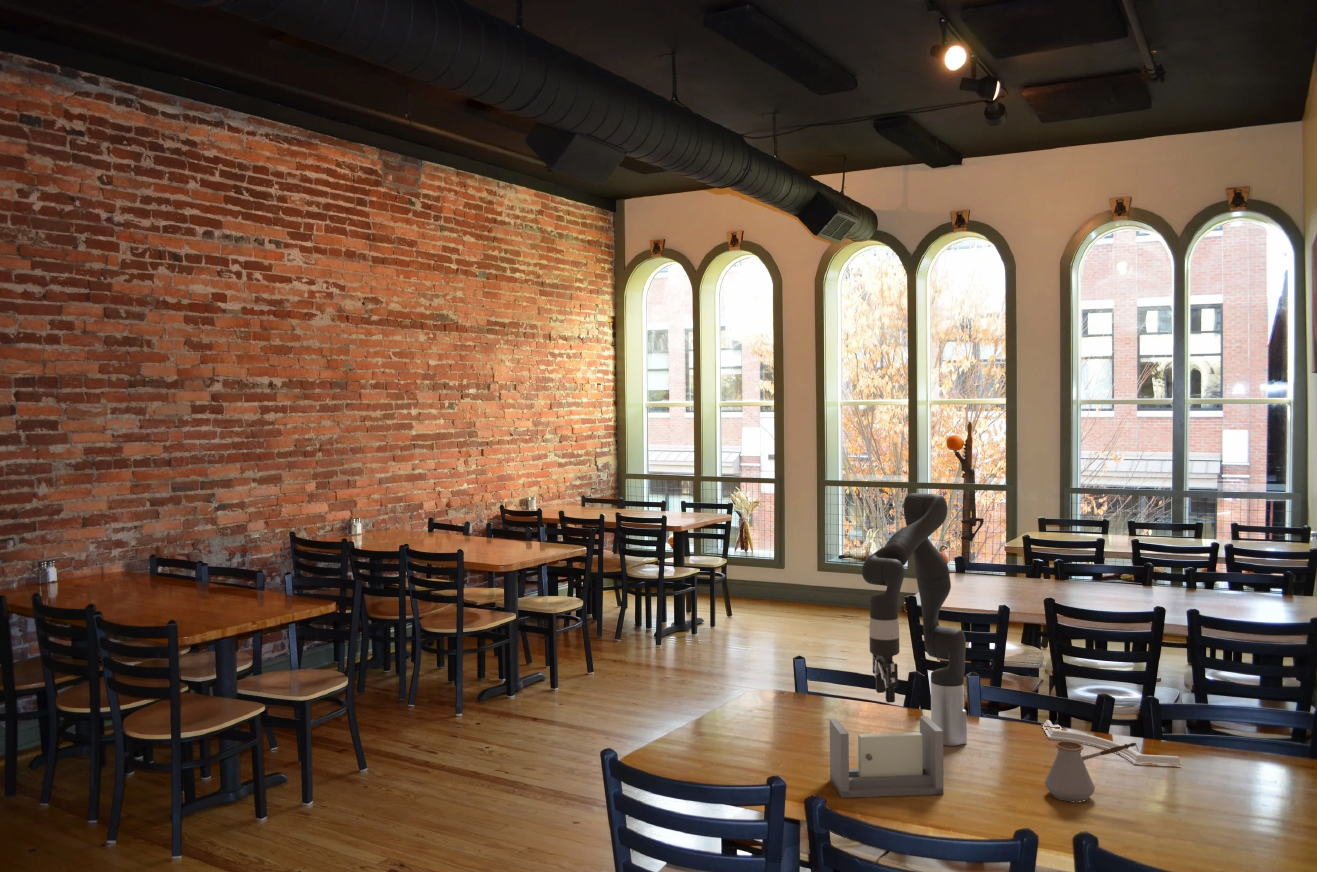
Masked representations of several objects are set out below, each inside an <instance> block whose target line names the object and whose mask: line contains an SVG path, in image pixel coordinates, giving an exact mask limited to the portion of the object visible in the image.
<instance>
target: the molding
mask: <svg viewBox="0 0 1317 872" xmlns="http://www.w3.org/2000/svg"><path fill="white" fill-rule="evenodd" d="M1042 725H1043V727H1041V729H1042V728H1043V729H1044V730H1043V729H1042V731H1043V732H1044V731H1045V732H1044V734H1045V733H1046V734H1045V736H1046V735H1047V736H1046V737H1047V739H1048V740H1054V741H1069V742H1075V743H1079V744H1081V743H1085V744H1084V745H1086V744H1090V745H1094V746H1096V747H1095V748H1098V749H1101V750H1104V749H1105V750H1107V749H1110V748H1113V747H1116V746H1123V745H1124V744H1120V743H1118V742H1116V741H1112V740H1108V739H1105V738H1102V737H1098V736H1095V735H1090V734H1085V733H1080V732H1073V731H1067V730H1063V731H1062V730H1061V729H1063V728H1062V727H1061V725H1059V724H1053V723H1052V721H1051V720H1049V719H1046V720H1045V722H1043V724H1042ZM1044 726H1050V727H1060V729H1055V728H1050V727H1044ZM1046 728H1047V729H1048V730H1045V729H1046ZM1090 745H1089V746H1090ZM1094 746H1093V747H1094ZM1116 753H1118V754H1121V755H1123V756H1125V757H1126V758H1128V759H1130V760H1131V761H1132V762H1136V763H1152V764H1164V763H1166V764H1169V763H1173V764H1180V758H1179V756H1177V755H1176V756H1175V755H1157V754H1142V753H1140V751H1138V750H1137V751H1136V750H1134V749H1132V748H1131V747H1129V748H1128V749H1126V748H1125V749H1123V750H1121V751H1118V752H1116ZM1180 765H1181V764H1180Z"/></svg>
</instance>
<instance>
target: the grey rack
mask: <svg viewBox="0 0 1317 872" xmlns="http://www.w3.org/2000/svg"><path fill="white" fill-rule="evenodd" d="M919 732H920V733H921V734H922V765H923V775H912V776H881V777H859V776H858V768H850V752H849V751H850V750H849V748H850V743H849V742H850V739H849V738H850V737H849V735H850V734H849V732H848V731H847V729H845V727H844V726H843V725H842V724H841V722H840V721H839V719H837V718H835V719H834V718H831V719H829V780H830V782H831V784H832V783H833V784H832V785H833V787H834V789H835V790H836V792H837V793H838V795H839V797H840V798H841V799H846V798H873V797H874V798H875V797H879V798H880V797H900V796H903V797H905V796H906V797H907V795H908V796H932V795H944V793H945V791H944V745H943V730H942V729H940V728H939V727H938V726H937V725H936V724H935V723H934V722H933V721H932V720H931V717H928V716H919Z"/></svg>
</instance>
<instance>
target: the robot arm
mask: <svg viewBox="0 0 1317 872" xmlns="http://www.w3.org/2000/svg"><path fill="white" fill-rule="evenodd" d="M903 516H904V520H905V524H906V526H904V527H902V528H900V529H899V530H897V531H896V532H895V533H894V534H892V536H891V537H890V538H889V539H888V541H887V542H886V543H885V544H884V546H883V547H881V548H879V549H878V550H877V551H875V552H873V553H872V554H871V555H869V556H868V557H867V558H866V559H865V561H864V562H863V565H862V568H861V575H862V576H861V577H863V579H864V581H865V582H866V583H867V584H870V585H875V586H885V587H886V590H885V592H882V593H875V594H873V595H871V596H870V599H869V617H870V618H869V626H868V628H869V629H868V630H869V632H868V633H869V635H868V636H869V653H870V654H872V674H873V676H874V678H875V693H878V694H881V693H882V694H884V693H885V702H886V703H888V704H889V703H890V704H891V703H892V704H893V703H895V701H896V693H895V691H896V688H899V675H898V673H899V672H898V668H899V667H898V664H897V663H896V662H895V661H894V660H893V659H894V658H893V657H894V656H897V655H898V654H900V624H899V610H898V609H899V607H898V605H899V604H898V603H899V598H900V594H901V589H902V585H903V582H904V578H905V567H904V566H905V565H906V564H907V563H908V561H909V560H910V558H911V557H912V556H913V561H914V568H915V577H916V582H917V589H918V593H919V600H920V606H921V614H922V628H923V630H922V631H923V642H924V647H925V652H926V653H927V655H928V656H929V657H932V658H934V659H941V660H948V665H947V666H946V667H941V668H938V669H934V670H932V671H931V673H930V719H931V720H932V721H933V722H934V723H935V724H936V725H937V726H938V727H939V728H940V729H942V730H943V746H949V747H950V746H951V747H955V746H961V745H964V744H965V745H966V744H967V742H968V738H967V737H968V736H967V735H968V733H967V731H968V728H967V723H968V722H967V721H968V720H967V718H968V717H967V710H966V708H965V695H964V694H965V693H964V692H965V690H964V689H965V688H964V687H965V686H964V685H965V683H964V682H965V680H964V679H965V673H966V651H967V650H966V646H967V644H966V643H967V642H966V641H967V640H966V635H965V632H964V631H963V630H962V629H959V628H954V627H948V626H947V627H946V626H941V625H940V623H939V613H940V611H941V608H942V606H943V604H944V603H945V601H946V599H947V598H948V597H949V594H950V592H951V588H952V583H951V575H950V569H949V565H948V563H947V561H946V560H945V558H944V556H943V555H942V554H941V553H940V552H939V550H938V549H937V548H936V547H935V545H934V544H933V543H932V541H931V540H930V539H929V537H930V536H931V535H932V534H933V533H935V532H936V531H937V530H938V529H939V528H940V527H941V526H942V525H943V524H944V523H945V521H946V519H947V516H948V503H947V500H946V498H945V497H944V496H943V495H941V494H936V493H923V492H922V493H919V492H914V493H913V492H912V493H909V494H906V496H905V497H904V501H903Z"/></svg>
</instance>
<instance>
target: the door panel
mask: <svg viewBox="0 0 1317 872" xmlns="http://www.w3.org/2000/svg"><path fill="white" fill-rule="evenodd" d="M857 741H858V742H857V751H858V752H857V755H858V756H857V759H858V761H857V762H858V763H857V765H858V767H857V769H858V776H859V777H881V776H912V775H923V765H922V734H921V733H920V731H914V732H913V731H912V732H910V731H909V732H907V731H906V732H887V733H886V732H885V733H884V732H883V733H881V732H880V733H879V732H878V733H876V732H875V733H858V734H857Z"/></svg>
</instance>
